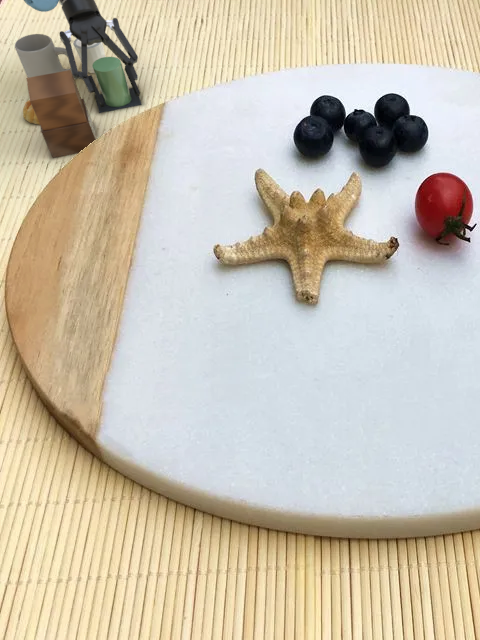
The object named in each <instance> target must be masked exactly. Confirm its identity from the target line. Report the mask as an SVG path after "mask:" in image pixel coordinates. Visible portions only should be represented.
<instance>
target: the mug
mask: <svg viewBox="0 0 480 640" xmlns="http://www.w3.org/2000/svg"><path fill="white" fill-rule="evenodd" d="M14 49H15V51H16V54H17V56H18V58H19V60H20V63H21V66H22V68H23V70H24V73H25V75H26V78H29V77H34V76H40V75H45V74H51V73H57V72H62V71H68V70H71V67H70V68H64V67H63V65H62V62H61V59H60V58H59V56H60V55H61V56H62V55H64V56H66V57H67V58H68V55H67V52H66V48H65V47H62V46H61V47H59V46H55V44H54V42H53V40H52V38H51V37H50V36H49V35H47V34H43V33H33V34H32V33H31V34H27V35H24V36H22V37H20V38H19V39H17V40H16V42H15V43H14ZM71 72H72V70H71ZM72 75H73V74H72Z"/></svg>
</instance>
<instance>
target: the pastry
mask: <svg viewBox="0 0 480 640" xmlns="http://www.w3.org/2000/svg"><path fill="white" fill-rule="evenodd" d="M22 117H23V119H24V120H25V121H26V122H28V123H29V124H34V125H35V126H36V125H40V123H39V120H38V118H37V116H36V114H35V111H34V109H33V107H32V105H31V102H30V99H28V100H27V101H25V103H24V105H23V107H22Z"/></svg>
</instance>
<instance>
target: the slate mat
mask: <svg viewBox="0 0 480 640" xmlns="http://www.w3.org/2000/svg"><path fill="white" fill-rule="evenodd" d="M129 90H130V93H131V97H132V99H131V101H130V102H129V103H128V104H127V105H124V106H121V107H110V106H108V105H106V104H105V101H104V99H103V96H102V93H100V95H101V97H102V100H103V102H104V106H103V107H101V106H100V104H99V102H98V100H97V98H96V95H95V94H94V97H95V102H96V106H97V109H98V114H102V113H107V112H113V111H118V110H123V109H129V108H134V107H139V106H142V105H143V104H142V101H141V98H140V96H137V97H136V94H135V92H134V90H133V87H129Z"/></svg>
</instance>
